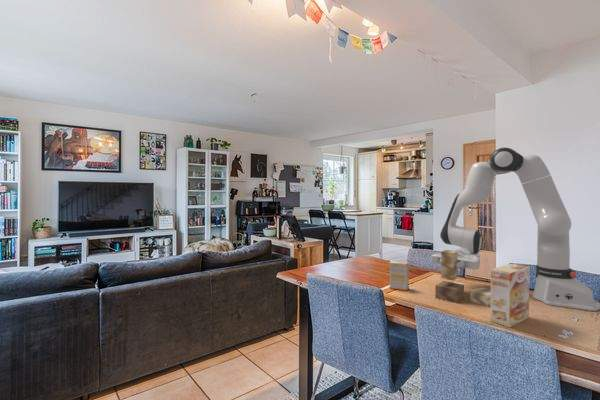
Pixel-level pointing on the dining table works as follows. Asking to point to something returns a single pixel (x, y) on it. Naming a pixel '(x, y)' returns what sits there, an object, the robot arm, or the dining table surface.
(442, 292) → the walnut block
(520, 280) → the coffeecake box
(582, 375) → the dining table surface
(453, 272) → the oak pillar
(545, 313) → the dining table surface
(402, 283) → the supplement box
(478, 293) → the beech block
